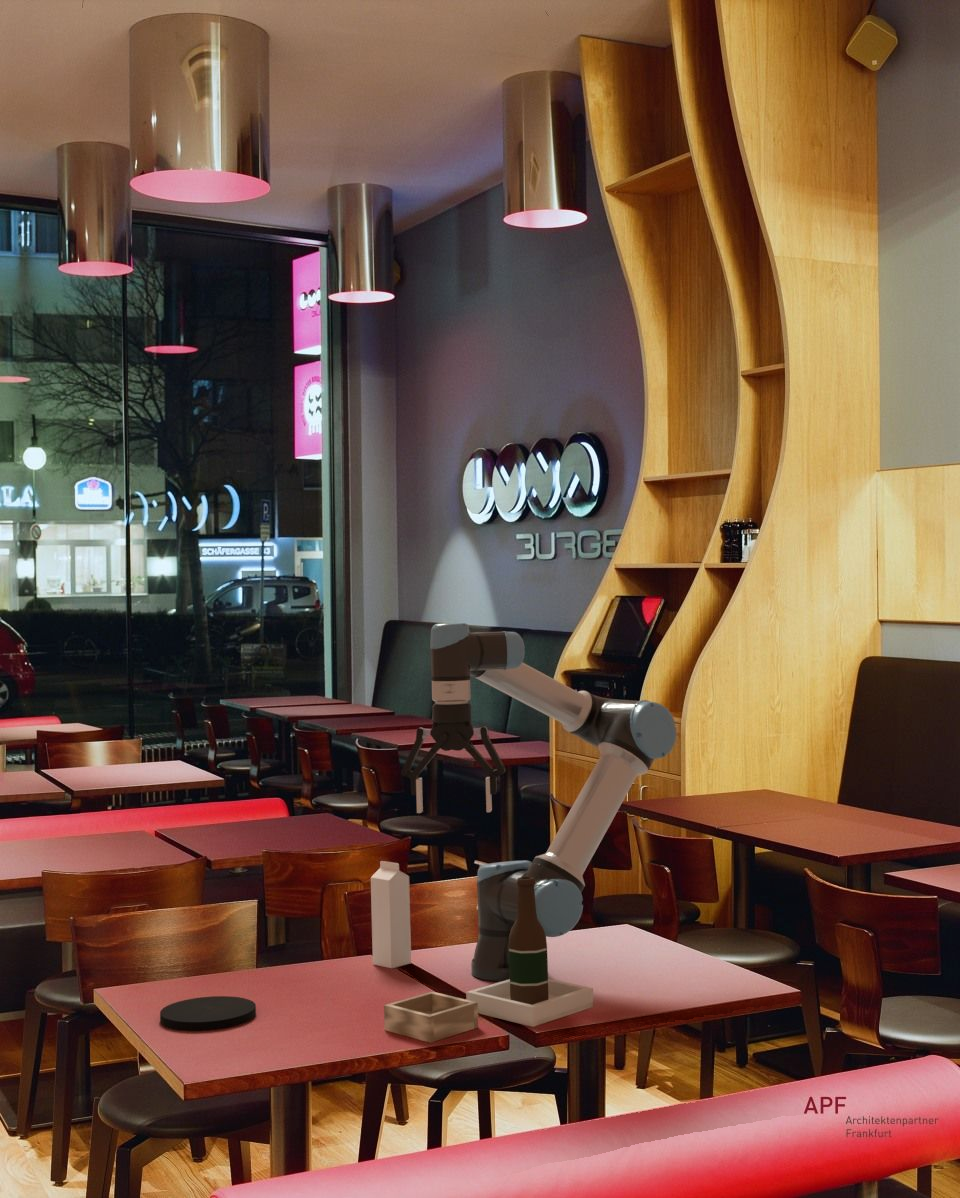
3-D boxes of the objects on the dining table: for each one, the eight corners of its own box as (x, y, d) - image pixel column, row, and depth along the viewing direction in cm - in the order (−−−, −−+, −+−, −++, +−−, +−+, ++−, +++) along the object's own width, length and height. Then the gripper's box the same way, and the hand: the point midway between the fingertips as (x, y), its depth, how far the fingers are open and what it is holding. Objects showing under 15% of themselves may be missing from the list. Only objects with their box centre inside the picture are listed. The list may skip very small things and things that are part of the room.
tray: (466, 1010, 266) (466, 991, 266) (527, 991, 278) (527, 974, 278) (532, 1026, 254) (532, 1007, 254) (593, 1006, 266) (592, 988, 266)
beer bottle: (502, 1008, 264) (499, 880, 264) (517, 997, 271) (514, 873, 271) (541, 1012, 261) (537, 882, 261) (555, 1001, 268) (552, 874, 268)
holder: (384, 1030, 255) (384, 1005, 255) (432, 1015, 263) (432, 991, 263) (430, 1042, 246) (429, 1016, 246) (478, 1027, 255) (477, 1002, 255)
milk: (392, 959, 308) (390, 858, 309) (411, 963, 304) (409, 861, 305) (372, 964, 304) (369, 862, 304) (391, 968, 300) (388, 865, 300)
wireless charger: (162, 1037, 255) (162, 1026, 255) (158, 1011, 272) (157, 1001, 272) (261, 1027, 260) (260, 1016, 260) (250, 1002, 277) (250, 992, 277)
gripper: (384, 704, 271) (387, 815, 271) (513, 702, 268) (516, 813, 268) (391, 702, 279) (394, 809, 278) (517, 700, 276) (520, 808, 275)
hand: (454, 812), depth 273 cm, fingers open, 13 cm apart
